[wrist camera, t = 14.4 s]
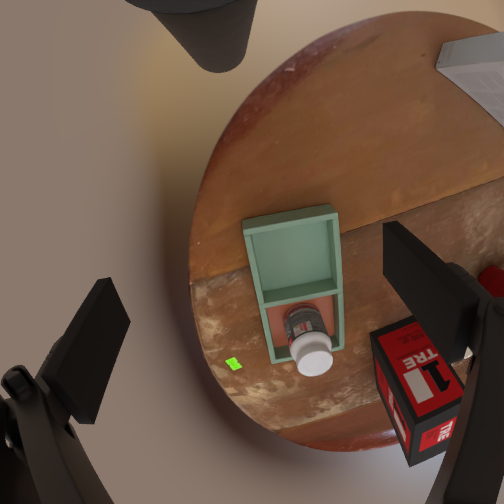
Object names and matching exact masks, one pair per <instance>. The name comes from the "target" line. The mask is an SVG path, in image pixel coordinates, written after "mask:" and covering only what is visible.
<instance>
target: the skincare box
mask: <svg viewBox="0 0 504 504" xmlns="http://www.w3.org/2000/svg"><path fill="white" fill-rule="evenodd" d="M435 69H436V70H438V71H439V72H440V73H442V74H443V75H444V76H446V77H447V78H448V79H450V80H451V81H452V82H453V83H455V84H456V85H457V86H458V87H460V88H461V89H462V90H463V91H464V92H466V93H467V94H468V95H469V96H470V97H472V98H473V99H474V100H475V101H476V102H477V103H478V104H479V105H481V106H482V107H483V108H484V109H485V110H486V111H487V112H488V113H489V114H490V115H492V116H493V117H494V118H495V119H496V120H497V121H498V122H499V123H500V124H501V125H502V126H503V127H504V32H498V33H492V34H486V35H481V36H475V37H470V38H465V39H460V40H455V41H451V42H446V43H443V46H442V48H441V52H440V55H439V58H438V61H437V64H436V67H435Z"/></svg>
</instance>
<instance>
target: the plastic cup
mask: <svg viewBox="0 0 504 504" xmlns="http://www.w3.org/2000/svg"><path fill="white" fill-rule="evenodd" d="M478 282H479V283H480V284H481V285H482V286H483V287H484V288H485V289H486V290H487V291H488V292H489V293H490V294H491V295H492V296H493V297H494V298H496V297H504V270H502V269H500V268H498V267H496V266H489V267H487V268H486V269H485V270H484V271H483V272H482V273H481V275H480V277H479V279H478Z"/></svg>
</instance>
